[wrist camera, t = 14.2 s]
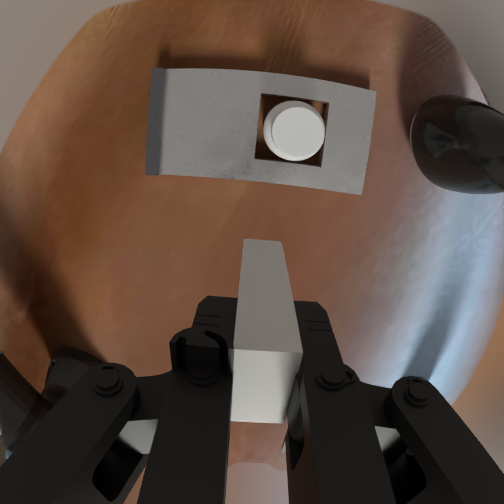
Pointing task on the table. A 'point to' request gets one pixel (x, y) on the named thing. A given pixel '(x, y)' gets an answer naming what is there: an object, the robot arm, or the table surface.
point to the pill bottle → (294, 130)
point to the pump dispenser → (459, 144)
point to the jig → (253, 127)
